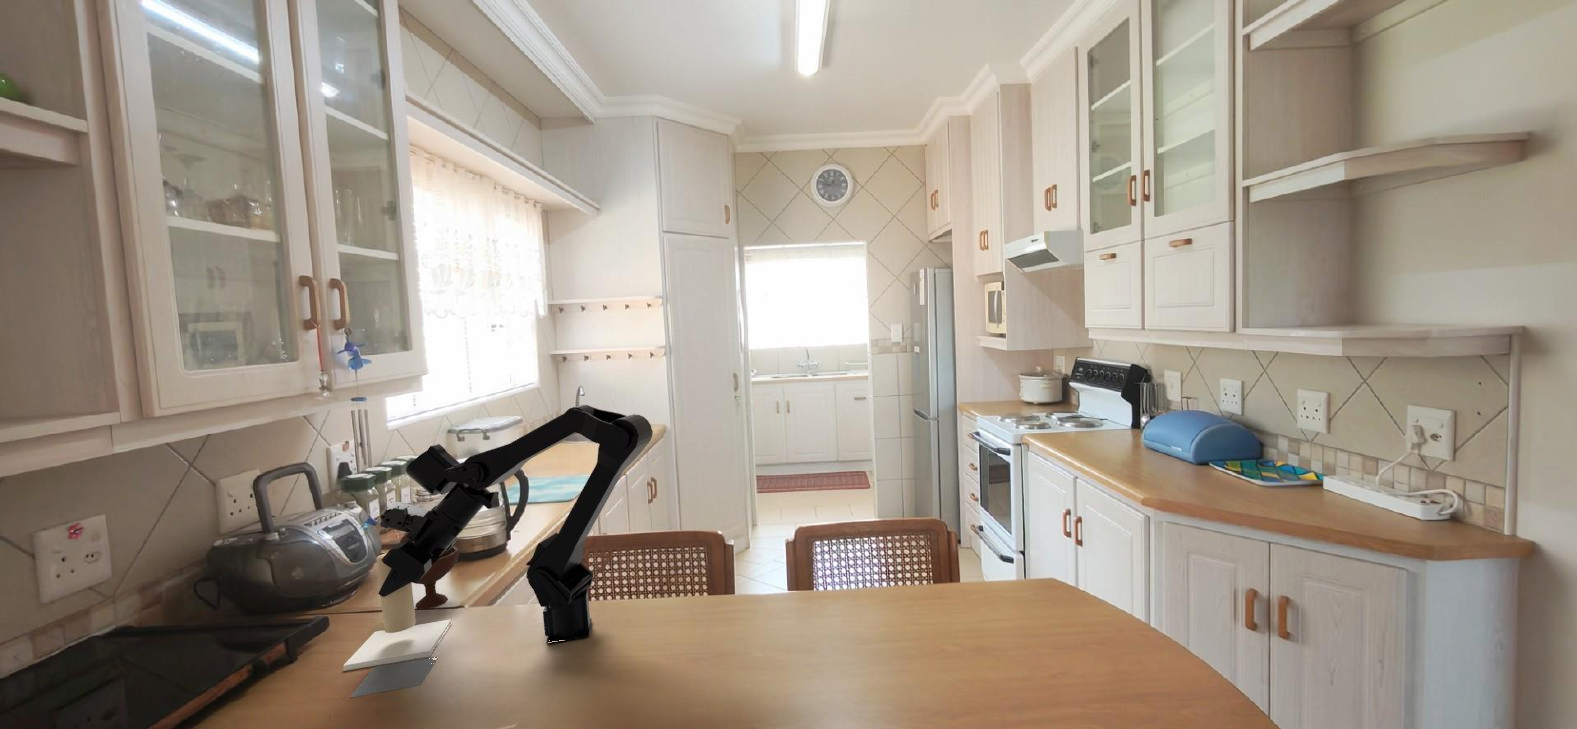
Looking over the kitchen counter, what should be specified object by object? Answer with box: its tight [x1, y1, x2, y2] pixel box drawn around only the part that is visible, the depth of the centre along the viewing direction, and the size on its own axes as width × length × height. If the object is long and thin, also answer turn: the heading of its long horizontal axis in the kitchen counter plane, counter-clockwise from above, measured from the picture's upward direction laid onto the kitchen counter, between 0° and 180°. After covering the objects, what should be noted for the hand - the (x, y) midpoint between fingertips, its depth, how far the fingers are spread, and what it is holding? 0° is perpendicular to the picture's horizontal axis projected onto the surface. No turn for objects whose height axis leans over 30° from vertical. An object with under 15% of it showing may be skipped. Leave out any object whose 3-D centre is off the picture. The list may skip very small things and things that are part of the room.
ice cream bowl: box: [399, 532, 460, 610], centre depth 122 cm, size 11×11×15 cm
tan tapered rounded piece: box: [376, 552, 417, 633], centre depth 104 cm, size 4×4×12 cm
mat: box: [349, 655, 438, 699], centre depth 94 cm, size 9×9×1 cm
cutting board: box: [343, 618, 453, 672], centre depth 104 cm, size 12×12×1 cm
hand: (386, 589), depth 103 cm, fingers closed on tan tapered rounded piece, 4 cm apart
